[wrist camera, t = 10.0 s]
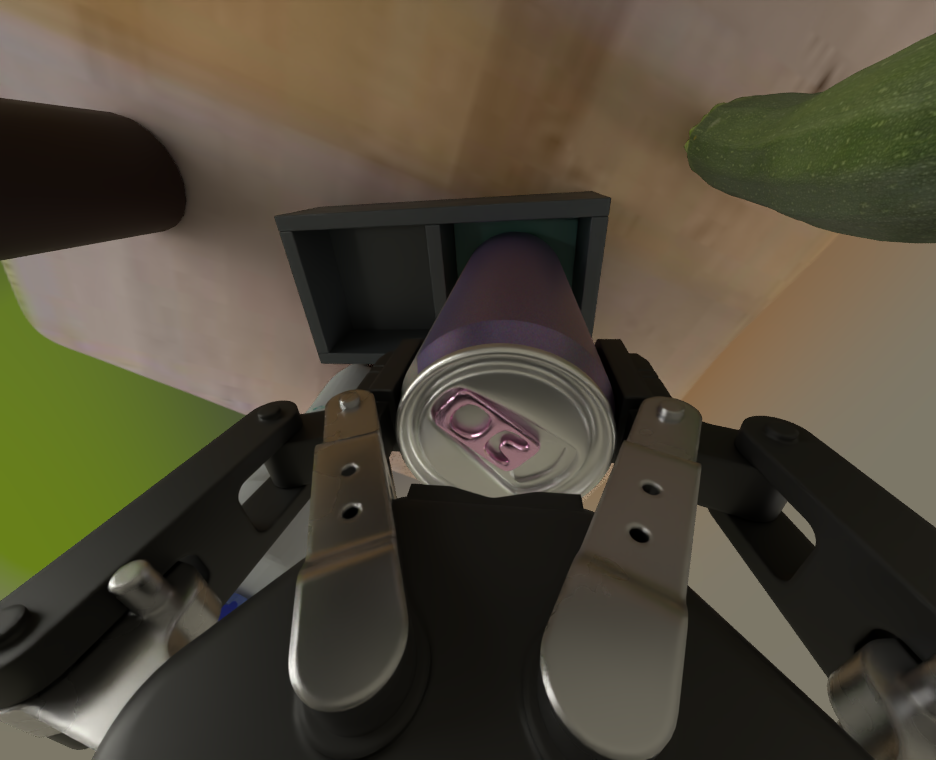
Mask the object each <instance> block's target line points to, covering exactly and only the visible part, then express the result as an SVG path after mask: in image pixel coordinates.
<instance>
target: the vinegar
mask: <svg viewBox="0 0 936 760" xmlns="http://www.w3.org/2000/svg"><path fill="white" fill-rule="evenodd" d="M185 206H186V196H185V188H184V183H183V181H182V178H181V176H180V173H179V171H178V168H177V166H176V164H175V163H174V161H173V160H172V158H171V156H170V155H169V153H168V152H167V150H166V149H165V147H164V146H163V145H162V144H161V143H160V142H159V141H158V140H157V139H156V138H155V137H154V136H153V135H152V134H151V133H150V132H149V131H148V130H146V129H145V128H143V127H142V126H140V125H139V124H138V123H136V122H135V121H133V120H131V119H128V118H126V117H123V116H120V115H117V114H114V113H111V112H103V111H96V110H88V109H80V108H73V107H65V106H58V105H50V104H43V103H35V102H27V101H20V100H12V99H5V98H0V260H6V259H12V258H17V257H23V256H28V255H34V254H39V253H45V252H50V251H56V250H61V249H67V248H73V247H78V246H84V245H89V244H95V243H100V242H106V241H111V240H117V239H122V238H128V237H134V236H139V235H145V234H150V233H156V232H161V231H165V230H167V229H170V228H172V227H174V226H176V225H177V224H178V223H179V221H180V220H181V218H182V217H183V216H184V211H185Z"/></svg>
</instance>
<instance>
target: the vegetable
mask: <svg viewBox="0 0 936 760" xmlns="http://www.w3.org/2000/svg"><path fill="white" fill-rule="evenodd" d="M689 136H690V139H689V140H688V141H687V142H686V144H685V146H684V148H685V150H686V152H687V158H688V162H689V166H690V168H691V170H692V171H694V172H695V173H697V174H698V175H699V176H700V177H701V178H702V179H703V180H704V181H705V182H707V183H708V184H709V185H710V186H712V187H713V188H715V189H718V190H720V191H722V192H724V193H726V194H729V195H731V196H735V197H738V198H741V199H745V200H747V201H750V202H753V203H756V204H759V205H762V206H765V207H768V208H771V209H773V210H776V211H777V212H779V213H781V214H784V215H786V216H789V217H791V218H794V219H797V220H800V221H803V222H805V223H808V224H810V225H812V226H815V227H818V228H821V229H825V230H828V231H832V232H836V233H840V234H846V235H851V236H856V237H861V238H867V239H873V240H879V241H889V242H904V243H936V33H935V34H933V35H931V36H928V37H926V38H924V39H922V40H920V41H918V42H916V43H914V44H912V45H911V46H909V47H907V48H905V49H903V50H901V51H899V52H897V53H895V54H893V55H892V56H890V57H888V58H886V59H884V60H882V61H879V62H877V63H875V64H873V65H871V66H869V67H867V68H865V69H863V70H861V71H859V72H857V73H855V74H853V75H851V76H850V77H848V78H846V79H845V80H843V81H841V82H839V83H838V84H836V85H834V86H833V87H831V88H829V89H828V90H826V91H824V92H820V93H814V94H807V93H778V94H769V95H755V96H749V97H741V98H737V99H735V100H733V101H731V102H729V103H724V102H723V103H720V104H717V105H715V106H714V107H713V108H712V109H711V110H710V112H709V113H708V114H706V115H704V116H703V118H702V120H701V122H700V123H699V124H697V125H696V126H694V127H693V128H692V129H691V130H690V131H689Z"/></svg>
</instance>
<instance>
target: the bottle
mask: <svg viewBox="0 0 936 760" xmlns="http://www.w3.org/2000/svg"><path fill="white" fill-rule="evenodd" d="M370 369H371V367H367V365H366V364H352V365H350V366H348V367H347V368H345V369H343V370H342V371H340V372H339V373H337V374H336V375H335V376H334V377H333V378H332V379H331V380H330V381H329V382H328V384H327V385H326V386H325V387H324V389H323V390H322V391H321V393H320V394H319V395H318V397H317V398H316V400H315V401H314V403H313V404H312V405H311V407H310V408H309V409H308V411H307V412H306V413H311V412H317V411H323V410H325V406H326V404H327V402H328V401H329V400H330V399H331V398H332V397H334V396H335V395H337V394H339V393H342V392H345V391H348V390H354V389H356V388H357V387H358V386H359V384H360V383H361V382H362V380H363V379H364V378H365V376H366V375H367V373H369V371H370ZM269 477H270V475H269V473H268V471H267V469H266V467H265V465H264V464H263V465H262V466H261V467H260V468H259V469H258V470H257V471H256V472H255V473H253V474H252V475H251V476H250V477H249V478H248V479H247V480H246V481H245V482H244V483H243V485H242V487H241V488H240V491H239V502H240V504H241V505H242V504H243V503H244V502H245V501H246V500H247V499H248V498H249V497H250V496H251V495H252V494H253V493H254V492H255V491H256V490H257V489H258V488H259V487H260V486H261V485H262V484H263V483H264V482H265V481H266V480H267V479H268V478H269ZM310 499H311V498H310ZM310 499H309V500H308V502H307V503H306V504H305V505H304V507H303V508H302V509H301V510H300V512H299V513H298V514H297V515H296V517H295V518H294V519H293V520H292V521H291V523H290V524H289V525H288V526H287V528H286V529H285V530H284V531H283V533H282V534H281V535H280V536H279V538H278V539H277V540H276V541H275V543H274V544H273V545H272V546H271V548H270V549H269V550H268V551H267V552H266V554H265V555H264V556H263V557H262V559H261V560H260V561H259V562H258V564H257V565H256V566H255V567H254V569H253V570H252V571H251V572H250V574H249V575H248V576H247V577H246V578H245V580H244V581H243V582H242V583H241V585H240V586H239V587H238V588H237V590H236V591H235V592H234V593H233V595H232V596H231V597H230V598H229V600H228V601H227V602H226V603H225V605H224V606H223V607H222V608H221V613H220V617H219V619H218V621H219V620H221V619H222V618H224V617H225V616H226V615H228V614H229V613H230V612H232V611H233V610H234V609H236V608H237V607H238V606H240V605H241V604H242V603H244V602H245V601H246V600H248V599H249V598H251V597H252V596H253V595H255V594H256V593H257V592H259V591H260V590H261V589H263V588H264V587H265V586H267V585H268V584H269V583H271V582H272V581H273V580H275V579H276V578H278V577H279V576H280V575H282V574H283V573H284V572H286V571H287V570H288V569H290V568H291V567H292V566H294V565H295V564H296V563H298V562H299V561H300V560H302V559H303V558H305V557H306V548H307V536H308V524H309V511H310Z"/></svg>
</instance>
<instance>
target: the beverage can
mask: <svg viewBox="0 0 936 760" xmlns="http://www.w3.org/2000/svg"><path fill="white" fill-rule="evenodd" d="M395 433H396V440H397V444H398V447H399V450H400V453H401V455H402V458H403V460H404V462H405V463H406V465H407V467H408V468H409V470H410V471H411V472H412V473H413V475H414V476H415V477H416V478H417V479H418V480H419V481H420V482H421V483H422V484H426V485H442V486H452V487H456V488H459V489H463V490H466V491H470V492H473V493H476V494H480V495H483V496H487V497H492V498H496V497H503V496H510V495H517V494H524V493H531V492H552V493H567V494H581V498H582V497H583V496H585V495H586V494H587V493H589V492H590V491H591V490H592V489H593V488H594V487H595V486H596V485H597V484H598V483H599V482H600V481H601V479H602V478H603V477H604V475H605V474H606V472H607V470H608V469H609V467H610V465H611V463H612V460H613V457H614V454H615V450H616V443H617V429H616V422H615V399H614V394H613V390H612V387H611V384H610V381H609V379H608V376H607V374H606V372H605V369H604V367H603V364H602V362H601V359H600V357H599V355H598V352H597V350H596V347H595V345H594V343H593V340H592V338H591V335H590V333H589V331H588V328H587V326H586V323H585V321H584V319H583V316H582V314H581V311H580V309H579V306H578V304H577V302H576V299H575V297H574V294H573V292H572V290H571V287H570V285H569V282H568V280H567V278H566V275H565V273H564V270H563V268H562V266H561V263H560V261H559V259H558V257H557V255H556V253H555V252H554V251H553V249H552V248H551V247H550V246H549V245H548V244H547V243H546V242H544V241H543V240H542V239H540V238H538V237H536V236H534V235H531V234H528V233H524V232H506V233H501V234H498V235H496V236H493V237H491V238H489V239H488V240H486V241H485V242H483V243H482V244H481V245H480V246H479V247H478V248H477V249H476V250H475V251H474V253H473V254H472V255H471V257H470V259H469V261H468V262H467V264H466V266H465V268H464V270H463V271H462V273H461V275H460V277H459V279H458V280H457V282H456V284H455V286H454V288H453V289H452V291H451V293H450V295H449V297H448V299H447V300H446V302H445V304H444V306H443V308H442V309H441V311H440V313H439V315H438V317H437V318H436V320H435V322H434V324H433V326H432V327H431V329H430V331H429V333H428V335H427V336H426V338H425V340H424V342H423V344H422V345H421V347H420V349H419V351H418V353H417V355H416V356H415V358H414V360H413V362H412V364H411V365H410V367H409V369H408V371H407V373H406V375H405V378H404V381H403V384H402V388H401V394H400V403H399V406H398V410H397V414H396V421H395Z"/></svg>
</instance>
